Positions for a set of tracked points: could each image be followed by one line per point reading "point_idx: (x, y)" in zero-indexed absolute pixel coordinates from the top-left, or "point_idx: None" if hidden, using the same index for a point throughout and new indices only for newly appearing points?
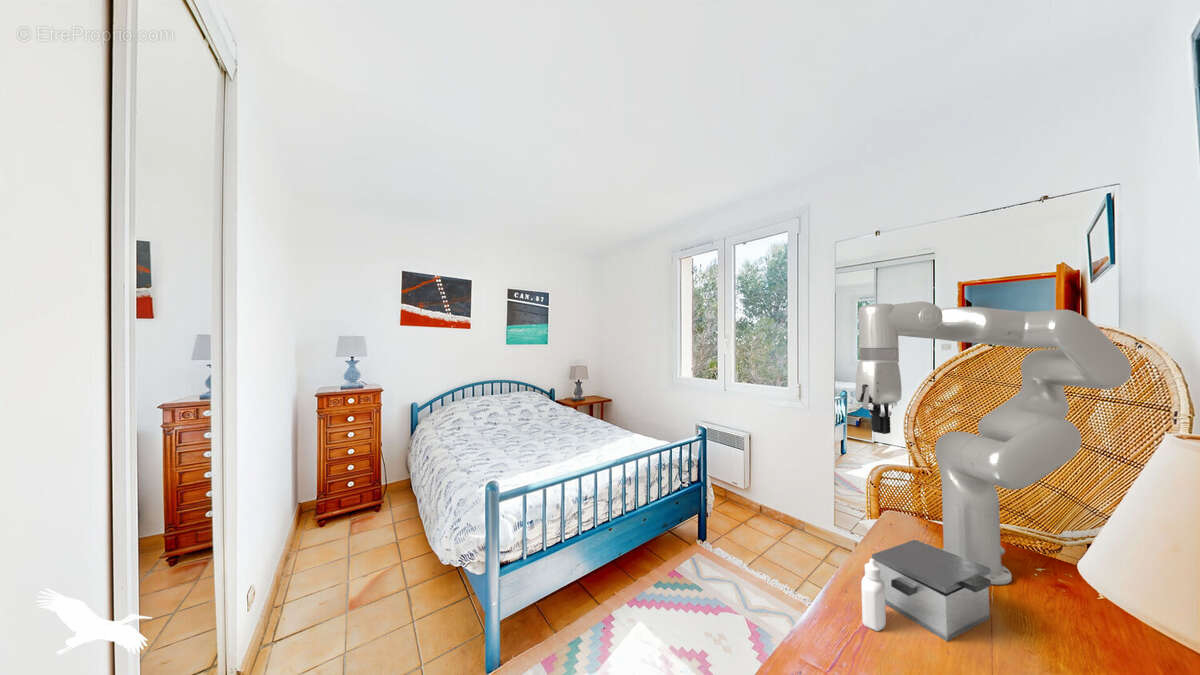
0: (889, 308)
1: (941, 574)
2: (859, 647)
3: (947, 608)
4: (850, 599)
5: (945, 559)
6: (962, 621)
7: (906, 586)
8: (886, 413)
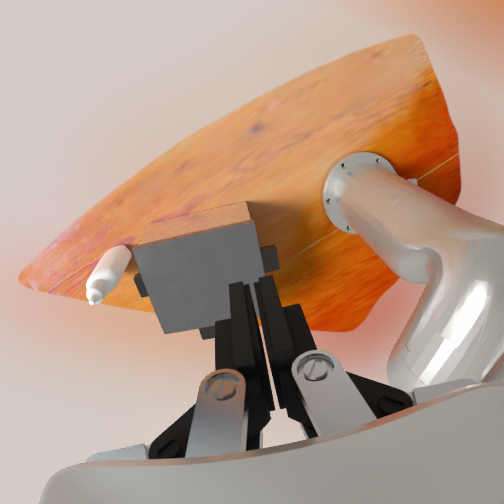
0: None
1: (187, 313)
2: (79, 282)
3: None
4: (114, 219)
5: None
6: None
7: (143, 292)
8: (299, 420)
